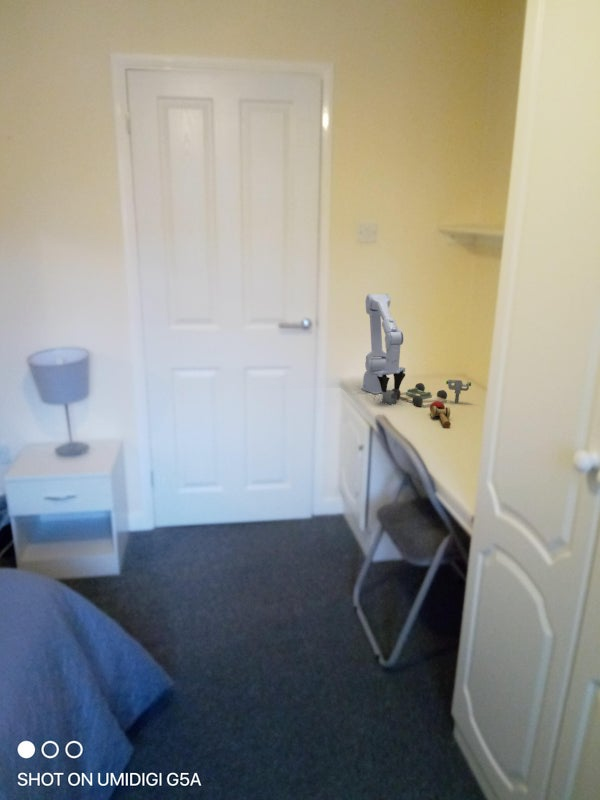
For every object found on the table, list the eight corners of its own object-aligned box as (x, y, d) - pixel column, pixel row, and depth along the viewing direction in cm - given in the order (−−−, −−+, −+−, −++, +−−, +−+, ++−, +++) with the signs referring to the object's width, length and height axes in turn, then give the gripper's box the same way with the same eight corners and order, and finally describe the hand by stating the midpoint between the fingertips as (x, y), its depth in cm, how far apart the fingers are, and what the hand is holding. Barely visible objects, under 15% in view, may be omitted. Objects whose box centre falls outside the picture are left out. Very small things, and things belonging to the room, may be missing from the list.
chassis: (388, 396, 265) (389, 386, 264) (415, 390, 275) (415, 381, 274) (421, 408, 250) (422, 398, 249) (448, 401, 260) (449, 392, 259)
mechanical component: (468, 405, 256) (471, 382, 253) (444, 403, 258) (446, 380, 255) (468, 403, 259) (470, 381, 256) (444, 401, 261) (446, 379, 258)
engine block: (381, 402, 257) (382, 391, 256) (388, 400, 260) (389, 389, 258) (390, 405, 253) (390, 394, 252) (396, 403, 256) (397, 392, 254)
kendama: (457, 431, 229) (445, 410, 246) (457, 416, 227) (444, 396, 243) (437, 434, 230) (427, 412, 246) (437, 419, 227) (426, 399, 243)
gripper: (386, 363, 243) (384, 395, 247) (411, 359, 252) (408, 390, 256) (374, 360, 249) (373, 391, 253) (399, 356, 257) (397, 386, 261)
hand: (390, 390), depth 255 cm, fingers open, 7 cm apart
